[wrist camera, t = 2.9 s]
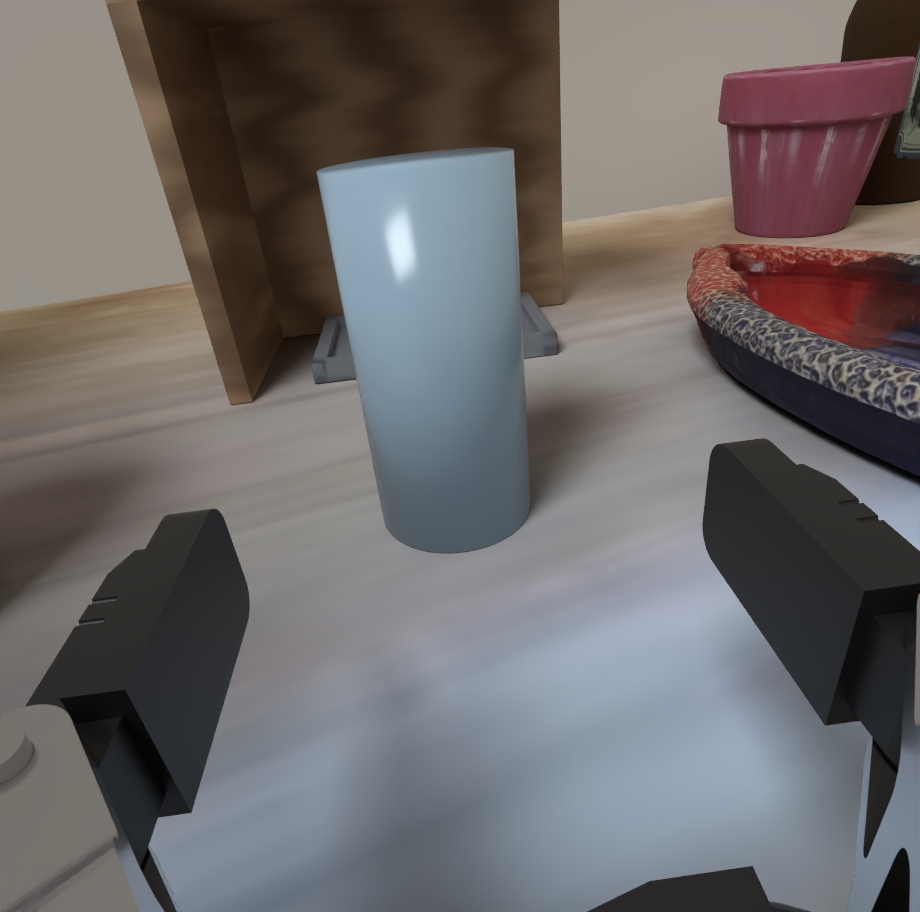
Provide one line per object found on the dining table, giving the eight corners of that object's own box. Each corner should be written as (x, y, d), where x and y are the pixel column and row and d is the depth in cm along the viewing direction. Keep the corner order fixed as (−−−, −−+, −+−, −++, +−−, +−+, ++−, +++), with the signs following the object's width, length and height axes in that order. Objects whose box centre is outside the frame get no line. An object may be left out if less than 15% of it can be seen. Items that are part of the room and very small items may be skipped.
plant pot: (899, 242, 50) (947, 51, 43) (710, 248, 54) (728, 75, 47) (857, 209, 61) (889, 55, 55) (704, 216, 65) (718, 74, 59)
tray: (315, 383, 36) (310, 364, 35) (330, 333, 44) (326, 316, 43) (557, 354, 36) (556, 334, 35) (529, 309, 44) (528, 292, 43)
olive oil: (792, 199, 69) (840, -97, 56) (862, 185, 72) (921, -98, 59) (884, 210, 60) (965, -138, 47) (958, 193, 63) (1052, -137, 51)
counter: (230, 404, 34) (89, -53, 24) (269, 334, 45) (181, -7, 35) (607, 357, 35) (618, -108, 25) (559, 299, 45) (553, -46, 35)
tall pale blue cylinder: (381, 562, 21) (304, 181, 15) (384, 477, 26) (327, 162, 20) (544, 541, 21) (530, 156, 15) (517, 460, 26) (498, 143, 20)
